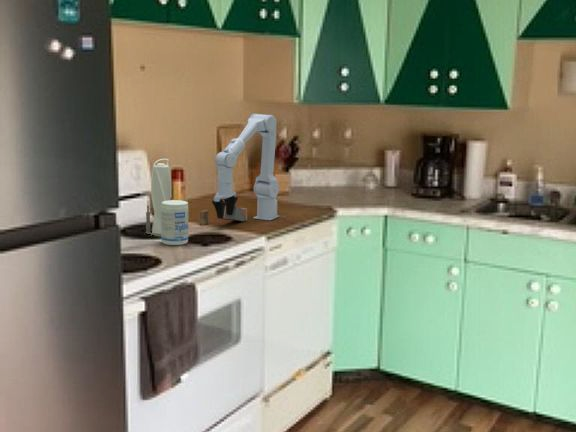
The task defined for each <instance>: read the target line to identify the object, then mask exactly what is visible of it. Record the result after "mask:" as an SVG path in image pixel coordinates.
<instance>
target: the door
mask: <svg viewBox="0 0 576 432" xmlns="http://www.w3.org/2000/svg"><path fill="white" fill-rule="evenodd" d="M241 208H242V209H241V215H245V218H244V221H243V222H246V221H248V208H245V207H241ZM225 211H226V206H225V209H224V217H225ZM224 217H223V219H226V220H228V219H227V218H224Z"/></svg>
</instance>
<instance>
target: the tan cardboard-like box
mask: <svg viewBox="0 0 576 432" xmlns="http://www.w3.org/2000/svg"><path fill="white" fill-rule="evenodd" d="M208 224H209V210H208V209H203V210H201V211H199V226H207V225H208Z"/></svg>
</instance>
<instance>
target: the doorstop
mask: <svg viewBox="0 0 576 432" xmlns="http://www.w3.org/2000/svg"><path fill="white" fill-rule="evenodd" d="M242 208H243V207H239V206H234V209H233V213H232V215H227V213H226V211H225V217H224V218H223V219H225V218H227V219H226V220H232V221H235V222H236V221H237V222H238V221H239V222H245V221H244V218H245V215H241V209H242Z"/></svg>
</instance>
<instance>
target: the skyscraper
mask: <svg viewBox="0 0 576 432" xmlns="http://www.w3.org/2000/svg"><path fill="white" fill-rule="evenodd" d="M160 161H167V162H166V164H165V163H164V162H163V163H162V162H161V163H160ZM169 163H170V159H169V158H160V159H157V160H156V161H155V162H153V164H152V170H151V179H150V195H151V202H152V208H153V213H154V214H153V220H152V224H151V221H150V220H151V212H150V205H149V204H147V205H146V212H145V218H146V220H145V229H146V231H145V233H147V234H151V235H150V236H152V235H154V236H153V237H158V238H161V206H162V202H163V201H168V200H170V198H171V195H172V178H171V177H172V175H171V168H170V165H169ZM146 201H147V202H146V203H149V200H146ZM151 225H152V226H151ZM151 227H152V228H151ZM150 231H152V233H151V232H150Z"/></svg>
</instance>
